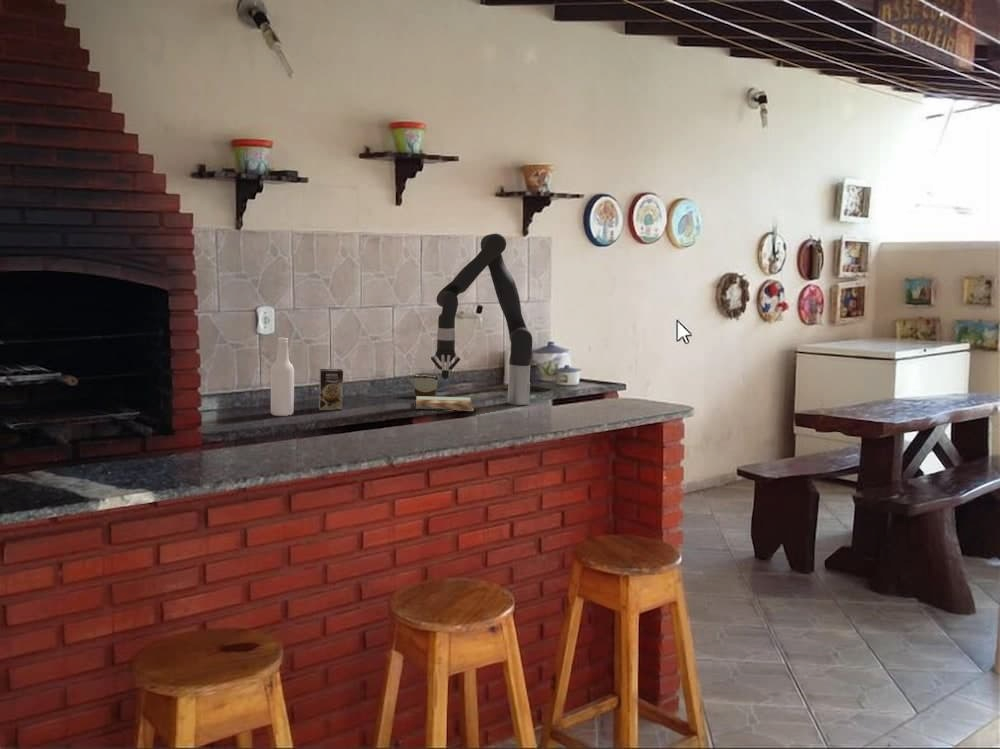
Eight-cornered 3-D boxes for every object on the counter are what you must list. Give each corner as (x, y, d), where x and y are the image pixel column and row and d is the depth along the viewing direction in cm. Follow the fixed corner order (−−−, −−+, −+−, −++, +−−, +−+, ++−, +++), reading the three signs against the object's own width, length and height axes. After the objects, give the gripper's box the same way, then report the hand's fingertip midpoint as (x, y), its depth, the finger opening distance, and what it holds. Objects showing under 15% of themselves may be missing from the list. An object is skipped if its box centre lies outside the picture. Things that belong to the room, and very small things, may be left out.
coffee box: (319, 410, 379) (320, 370, 376) (318, 407, 385) (319, 368, 382) (342, 410, 381) (343, 370, 379) (341, 407, 387) (341, 368, 385)
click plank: (469, 403, 406) (470, 397, 406) (471, 406, 398) (471, 400, 398) (416, 401, 404) (416, 396, 404) (416, 405, 396) (416, 399, 396)
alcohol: (288, 417, 363) (289, 339, 359) (266, 415, 365) (267, 338, 360) (297, 412, 372) (298, 337, 367) (276, 411, 373) (276, 336, 369)
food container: (440, 395, 424) (441, 373, 422) (438, 398, 418) (439, 375, 416) (413, 394, 425) (414, 372, 423) (411, 396, 419) (411, 374, 417)
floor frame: (471, 403, 408) (471, 396, 407) (473, 411, 392) (474, 403, 391) (414, 402, 405) (414, 395, 405) (414, 409, 389) (415, 402, 389)
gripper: (461, 337, 402) (459, 377, 405) (430, 337, 401) (429, 377, 404) (462, 340, 395) (461, 380, 398) (430, 339, 394) (429, 380, 396)
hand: (444, 378), depth 401 cm, fingers closed
